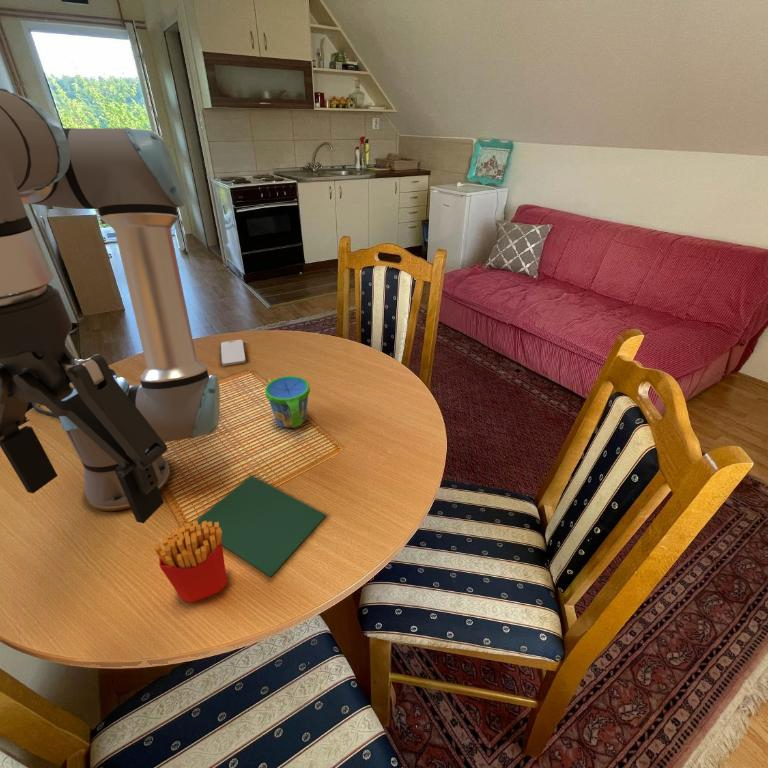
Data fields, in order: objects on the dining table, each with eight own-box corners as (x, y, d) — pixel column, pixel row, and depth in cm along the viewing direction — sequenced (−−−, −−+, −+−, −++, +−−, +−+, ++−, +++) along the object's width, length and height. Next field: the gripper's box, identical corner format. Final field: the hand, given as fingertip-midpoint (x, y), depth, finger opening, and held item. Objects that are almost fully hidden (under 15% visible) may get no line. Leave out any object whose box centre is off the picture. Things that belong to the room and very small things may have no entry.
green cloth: (191, 525, 77) (191, 524, 77) (251, 476, 88) (251, 475, 88) (270, 577, 69) (270, 576, 69) (326, 515, 80) (325, 514, 80)
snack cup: (317, 435, 100) (314, 401, 95) (272, 443, 98) (267, 408, 92) (307, 400, 113) (304, 368, 107) (268, 406, 110) (262, 373, 105)
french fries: (176, 609, 64) (152, 557, 57) (175, 585, 68) (152, 533, 61) (237, 585, 68) (221, 533, 61) (233, 564, 71) (218, 512, 64)
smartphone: (221, 364, 127) (220, 342, 139) (222, 367, 128) (220, 345, 139) (246, 360, 129) (242, 339, 141) (246, 363, 130) (243, 342, 142)
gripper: (-183, 293, 31) (-37, 498, 42) (83, 331, 25) (172, 558, 36) (-65, 267, 37) (36, 451, 48) (170, 293, 31) (224, 496, 42)
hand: (95, 497), depth 42 cm, fingers open, 13 cm apart
